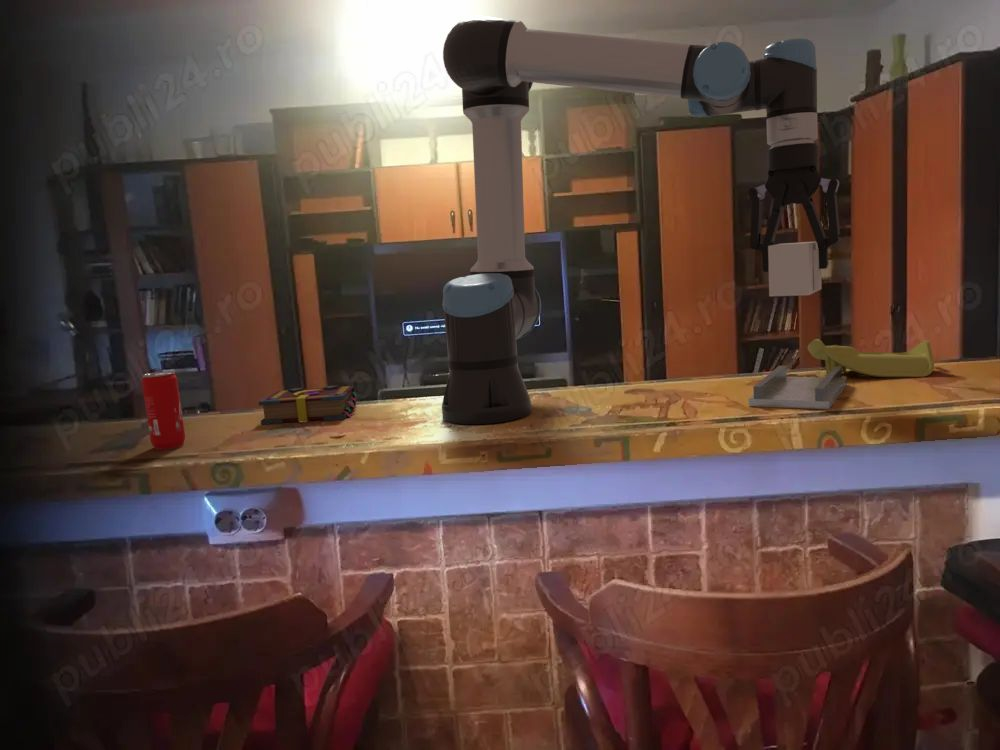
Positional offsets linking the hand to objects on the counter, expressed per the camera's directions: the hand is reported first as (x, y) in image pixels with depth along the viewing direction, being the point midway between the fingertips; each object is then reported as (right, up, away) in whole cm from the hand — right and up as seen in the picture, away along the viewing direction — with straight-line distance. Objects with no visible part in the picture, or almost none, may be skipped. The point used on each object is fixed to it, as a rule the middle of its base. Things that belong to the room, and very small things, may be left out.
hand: (795, 290), depth 128 cm
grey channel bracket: (+2, -17, +3) cm, 17 cm away
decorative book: (-82, -22, +16) cm, 87 cm away
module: (0, 0, 0) cm, 0 cm away
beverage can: (-102, -26, -1) cm, 105 cm away
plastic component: (+20, -14, +17) cm, 30 cm away
